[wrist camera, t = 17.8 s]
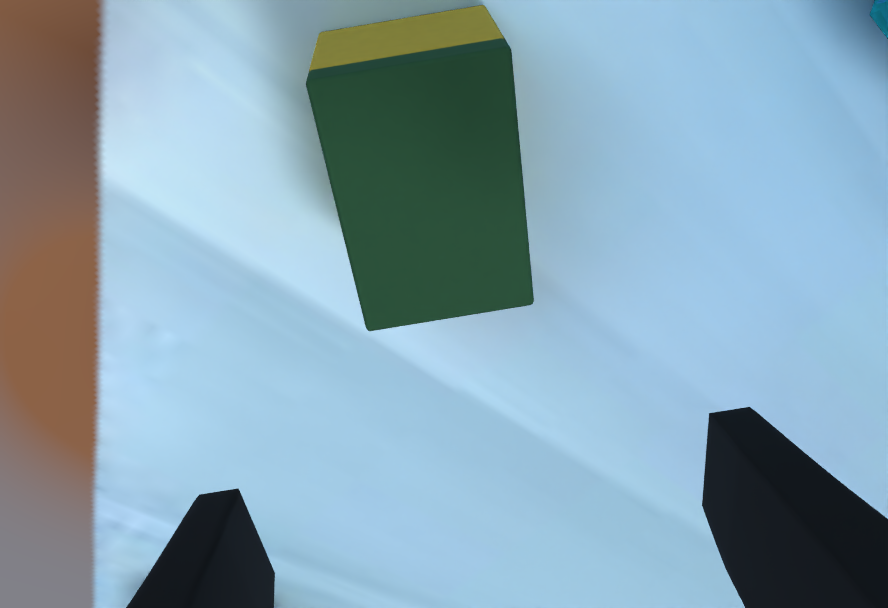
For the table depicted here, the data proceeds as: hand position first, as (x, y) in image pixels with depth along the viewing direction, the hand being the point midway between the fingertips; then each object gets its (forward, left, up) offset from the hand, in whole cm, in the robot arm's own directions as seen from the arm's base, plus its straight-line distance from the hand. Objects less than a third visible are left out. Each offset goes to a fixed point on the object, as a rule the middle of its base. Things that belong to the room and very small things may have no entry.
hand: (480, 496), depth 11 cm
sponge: (0, -2, -10) cm, 11 cm away
